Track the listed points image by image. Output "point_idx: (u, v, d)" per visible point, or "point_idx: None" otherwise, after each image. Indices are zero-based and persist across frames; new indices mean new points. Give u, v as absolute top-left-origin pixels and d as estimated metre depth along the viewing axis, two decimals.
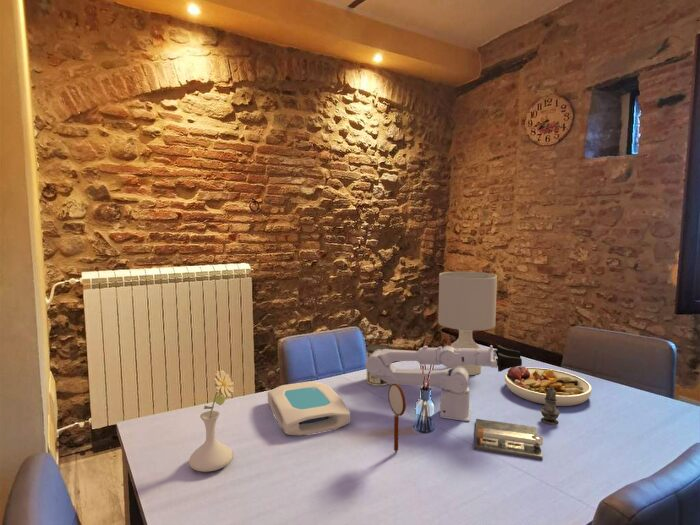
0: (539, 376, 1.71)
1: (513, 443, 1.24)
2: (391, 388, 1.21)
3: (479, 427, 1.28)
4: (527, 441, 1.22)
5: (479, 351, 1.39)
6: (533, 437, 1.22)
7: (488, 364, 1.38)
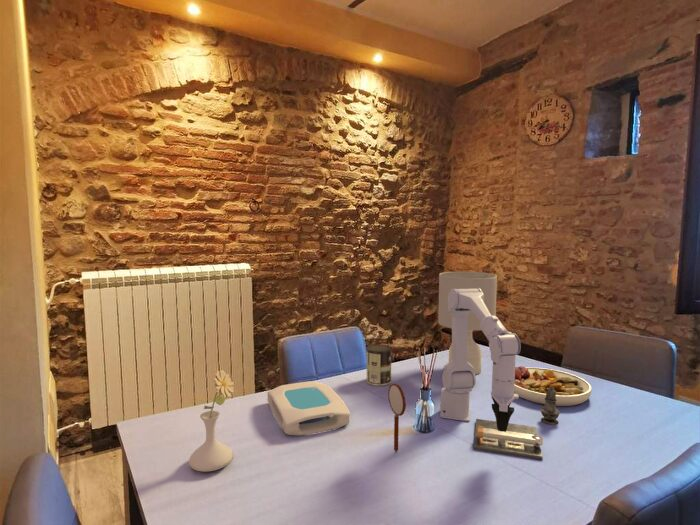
0: (539, 376, 1.71)
1: (513, 443, 1.24)
2: (391, 388, 1.21)
3: (479, 427, 1.28)
4: (527, 441, 1.22)
5: (512, 384, 1.14)
6: (533, 437, 1.22)
7: (497, 393, 1.15)
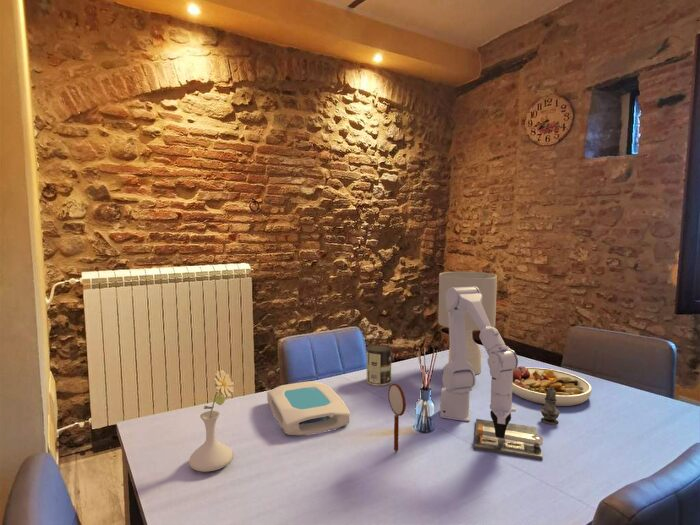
0: (539, 376, 1.71)
1: (513, 443, 1.24)
2: (391, 388, 1.21)
3: (479, 425, 1.29)
4: (527, 441, 1.22)
5: (510, 398, 1.21)
6: (533, 437, 1.23)
7: (496, 406, 1.22)
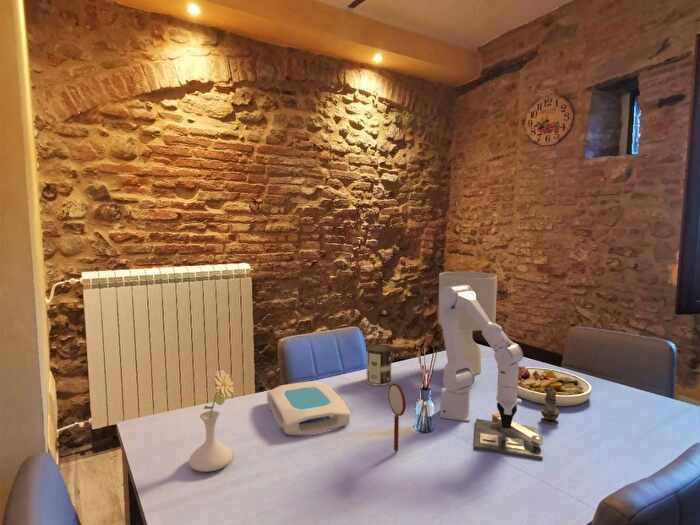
0: (539, 376, 1.71)
1: (513, 443, 1.24)
2: (391, 388, 1.21)
3: (499, 413, 1.37)
4: (525, 437, 1.24)
5: (516, 390, 1.27)
6: (533, 436, 1.23)
7: (502, 398, 1.27)
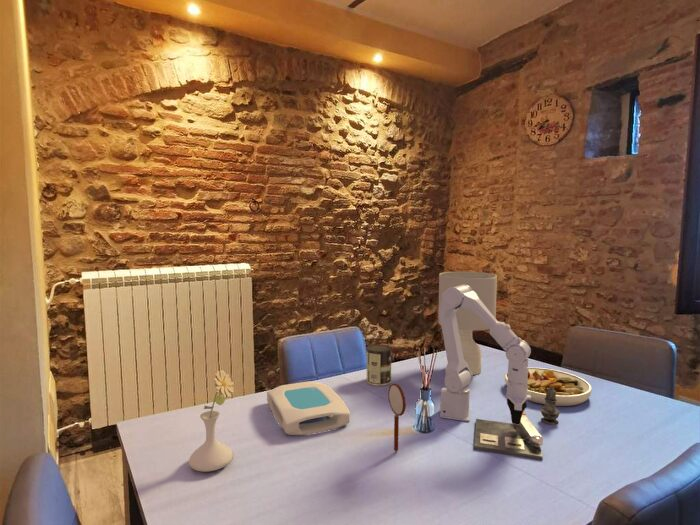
0: (539, 376, 1.71)
1: (513, 443, 1.24)
2: (391, 388, 1.21)
3: None
4: (528, 435, 1.25)
5: (526, 386, 1.30)
6: (534, 436, 1.23)
7: (512, 394, 1.30)
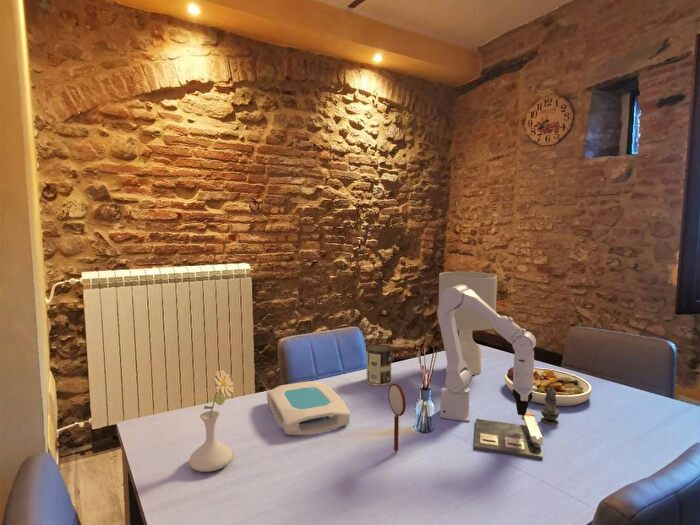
0: (539, 376, 1.71)
1: (513, 443, 1.24)
2: (391, 388, 1.21)
3: (530, 413, 1.38)
4: (529, 435, 1.25)
5: (531, 377, 1.30)
6: (535, 435, 1.23)
7: (518, 385, 1.30)
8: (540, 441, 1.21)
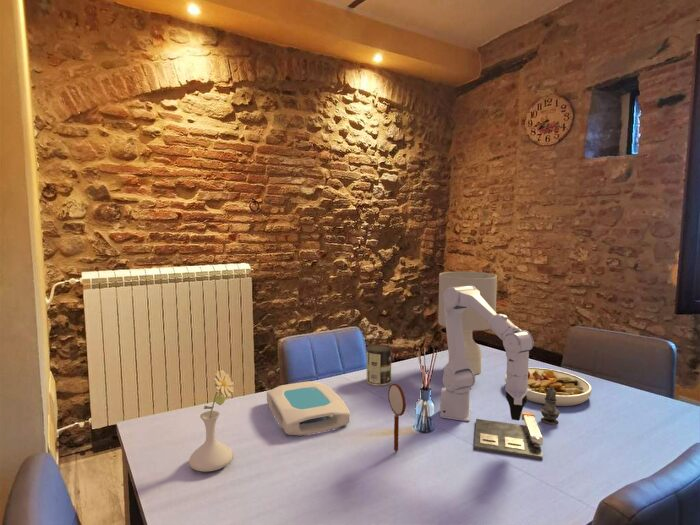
0: (539, 376, 1.71)
1: (513, 443, 1.24)
2: (391, 388, 1.21)
3: (530, 413, 1.38)
4: (529, 435, 1.25)
5: (526, 379, 1.21)
6: (535, 435, 1.23)
7: (512, 388, 1.21)
8: (540, 441, 1.21)
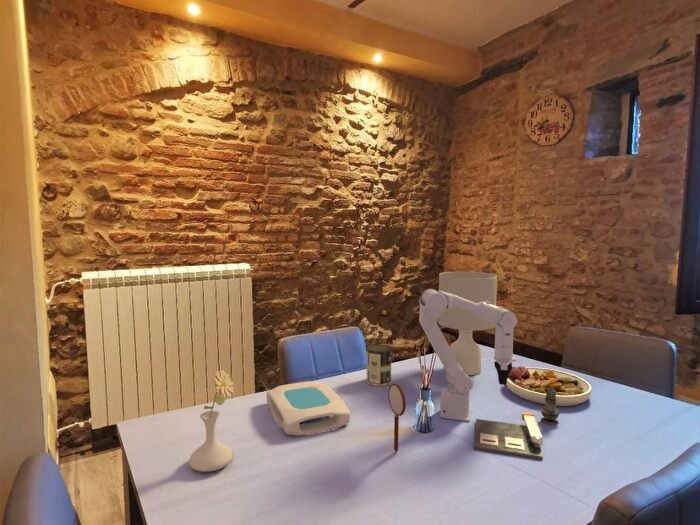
0: (539, 376, 1.71)
1: (513, 443, 1.24)
2: (391, 388, 1.21)
3: (530, 413, 1.38)
4: (529, 435, 1.25)
5: (511, 349, 1.42)
6: (535, 435, 1.23)
7: (499, 357, 1.43)
8: (540, 441, 1.21)
